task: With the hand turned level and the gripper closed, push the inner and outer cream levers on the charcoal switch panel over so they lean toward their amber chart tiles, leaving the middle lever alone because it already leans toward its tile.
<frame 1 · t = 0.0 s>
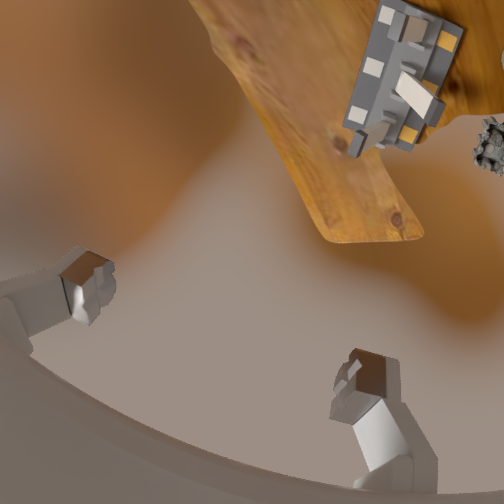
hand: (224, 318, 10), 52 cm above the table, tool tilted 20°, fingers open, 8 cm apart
lever middle: (417, 95, 39), point 8 cm above the table, hinge at 28.0°
lever inner: (410, 28, 31), point 8 cm above the table, hinge at -28.0°
lever outer: (371, 136, 47), point 8 cm above the table, hinge at -28.0°
egg carton: (490, 140, 45), on the table
switch panel: (400, 75, 44), on the table
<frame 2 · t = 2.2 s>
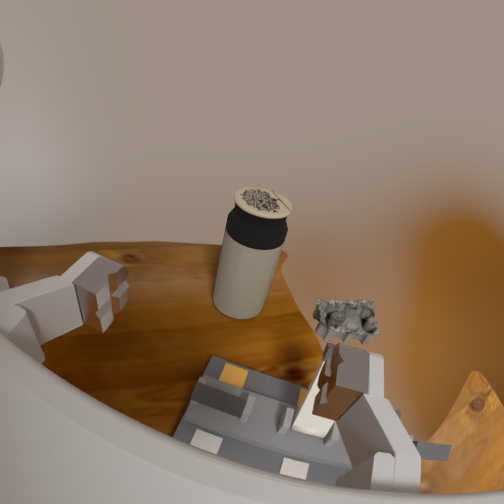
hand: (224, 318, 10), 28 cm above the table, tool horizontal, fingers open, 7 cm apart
lever middle: (326, 395, 30), point 8 cm above the table, hinge at 28.0°
travel mug: (237, 302, 50), on the table
lever inner: (221, 400, 28), point 8 cm above the table, hinge at -28.0°
lever outer: (405, 448, 26), point 8 cm above the table, hinge at -28.0°
egg carton: (342, 329, 50), on the table
switch panel: (298, 439, 33), on the table
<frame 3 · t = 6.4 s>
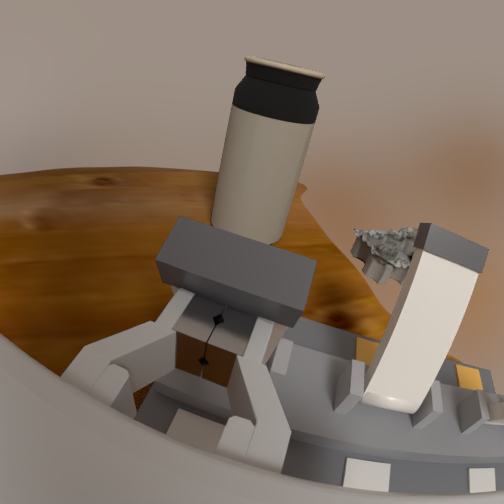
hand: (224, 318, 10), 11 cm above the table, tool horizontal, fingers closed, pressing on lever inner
lever middle: (423, 327, 16), point 8 cm above the table, hinge at 28.0°
travel mug: (246, 228, 36), on the table
lever inner: (231, 324, 13), point 8 cm above the table, hinge at -22.9°, touching gripper
egg carton: (390, 268, 36), on the table
switch panel: (361, 424, 18), on the table
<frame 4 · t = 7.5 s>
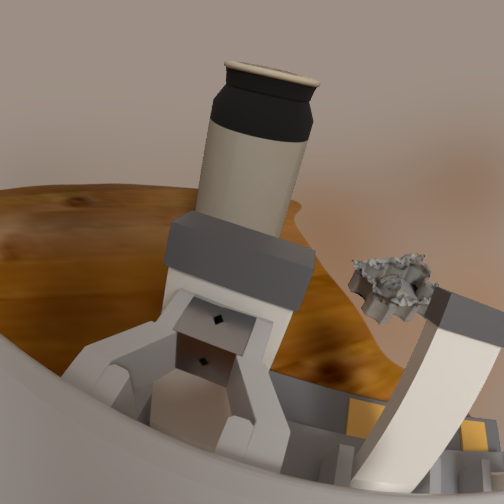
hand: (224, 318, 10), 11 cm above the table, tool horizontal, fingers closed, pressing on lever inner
lever middle: (428, 410, 12), point 8 cm above the table, hinge at 28.0°
travel mug: (229, 258, 32), on the table
lever inner: (210, 368, 11), point 8 cm above the table, hinge at 13.0°, touching gripper
egg carton: (392, 301, 32), on the table
switch panel: (348, 496, 14), on the table
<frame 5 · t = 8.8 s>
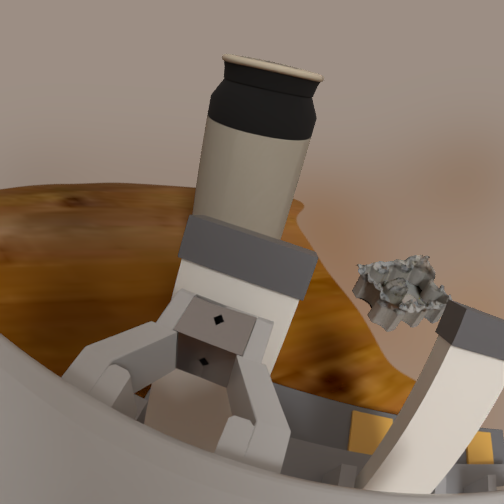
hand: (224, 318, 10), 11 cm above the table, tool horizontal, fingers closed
lever middle: (435, 430, 10), point 8 cm above the table, hinge at 28.0°
travel mug: (229, 261, 30), on the table
lever inner: (211, 372, 11), point 8 cm above the table, hinge at 26.6°
egg carton: (397, 306, 31), on the table
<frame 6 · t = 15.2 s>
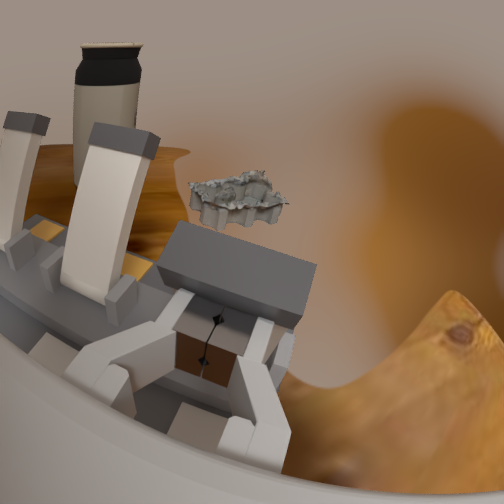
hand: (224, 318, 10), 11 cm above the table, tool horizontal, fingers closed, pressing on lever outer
lever middle: (101, 214, 18), point 8 cm above the table, hinge at 28.0°
travel mug: (103, 182, 38), on the table
lever inner: (10, 182, 19), point 8 cm above the table, hinge at 26.7°
lever outer: (233, 321, 13), point 8 cm above the table, hinge at -25.7°, touching gripper
egg carton: (235, 214, 38), on the table
switch panel: (95, 323, 21), on the table
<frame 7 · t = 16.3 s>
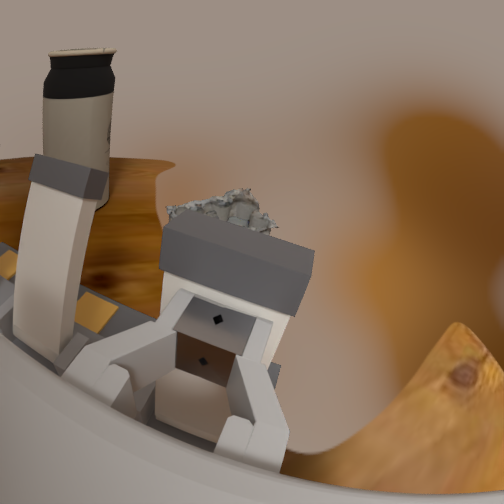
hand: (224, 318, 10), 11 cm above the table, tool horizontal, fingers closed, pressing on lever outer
lever middle: (47, 264, 14), point 8 cm above the table, hinge at 28.0°
travel mug: (78, 201, 34), on the table
lever outer: (211, 363, 12), point 8 cm above the table, hinge at 7.1°, touching gripper
egg carton: (219, 239, 34), on the table
switch panel: (56, 375, 17), on the table
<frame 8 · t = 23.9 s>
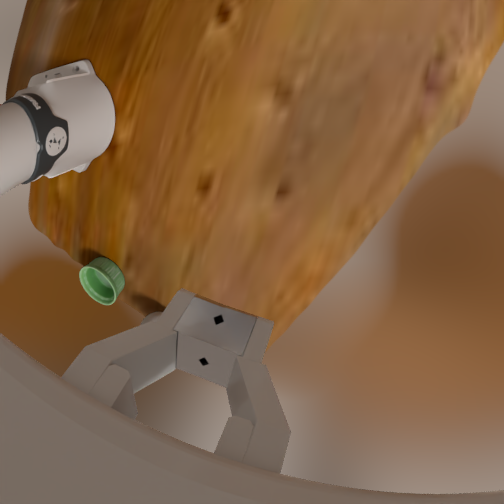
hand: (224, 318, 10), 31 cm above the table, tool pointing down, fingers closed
ramekin: (109, 272, 59), on the table
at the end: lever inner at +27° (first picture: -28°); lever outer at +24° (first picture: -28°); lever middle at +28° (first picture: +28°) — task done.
